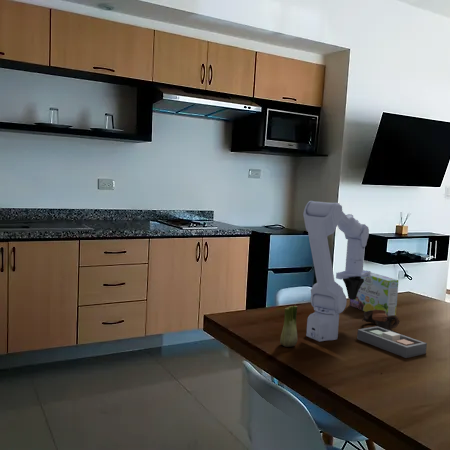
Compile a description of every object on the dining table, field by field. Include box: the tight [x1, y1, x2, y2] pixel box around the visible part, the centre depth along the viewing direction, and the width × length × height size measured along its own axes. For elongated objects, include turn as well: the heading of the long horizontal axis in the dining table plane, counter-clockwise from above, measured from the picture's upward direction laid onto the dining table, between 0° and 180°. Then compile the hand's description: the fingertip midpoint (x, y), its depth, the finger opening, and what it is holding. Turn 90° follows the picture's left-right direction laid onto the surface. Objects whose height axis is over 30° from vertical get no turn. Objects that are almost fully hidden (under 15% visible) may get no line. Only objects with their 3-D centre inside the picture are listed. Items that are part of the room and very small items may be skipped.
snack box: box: [349, 269, 399, 320], centre depth 191 cm, size 21×6×15 cm, turn 25°
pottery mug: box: [361, 310, 400, 331], centre depth 166 cm, size 12×10×8 cm
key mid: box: [382, 330, 400, 342], centre depth 147 cm, size 4×4×2 cm
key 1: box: [369, 330, 383, 337], centre depth 152 cm, size 4×4×2 cm
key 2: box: [396, 339, 414, 346], centre depth 143 cm, size 4×4×2 cm
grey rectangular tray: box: [356, 325, 428, 359], centre depth 147 cm, size 9×18×4 cm, turn 33°
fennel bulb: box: [279, 305, 298, 348], centre depth 145 cm, size 6×5×12 cm
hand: (351, 298), depth 166 cm, fingers closed
